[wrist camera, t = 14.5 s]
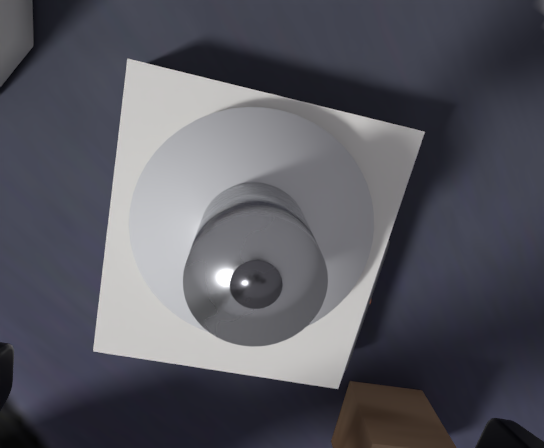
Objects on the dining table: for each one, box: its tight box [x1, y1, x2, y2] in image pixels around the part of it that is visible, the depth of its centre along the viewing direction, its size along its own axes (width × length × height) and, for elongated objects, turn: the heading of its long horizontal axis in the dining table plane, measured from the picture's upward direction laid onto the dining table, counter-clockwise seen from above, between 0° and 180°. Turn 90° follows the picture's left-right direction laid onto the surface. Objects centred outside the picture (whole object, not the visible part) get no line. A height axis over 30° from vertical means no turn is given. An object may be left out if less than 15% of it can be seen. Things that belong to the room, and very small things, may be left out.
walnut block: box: [331, 381, 456, 448], centre depth 22 cm, size 4×4×4 cm
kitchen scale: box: [93, 59, 425, 389], centre depth 18 cm, size 13×12×4 cm
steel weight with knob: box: [183, 182, 328, 347], centre depth 14 cm, size 4×4×5 cm
